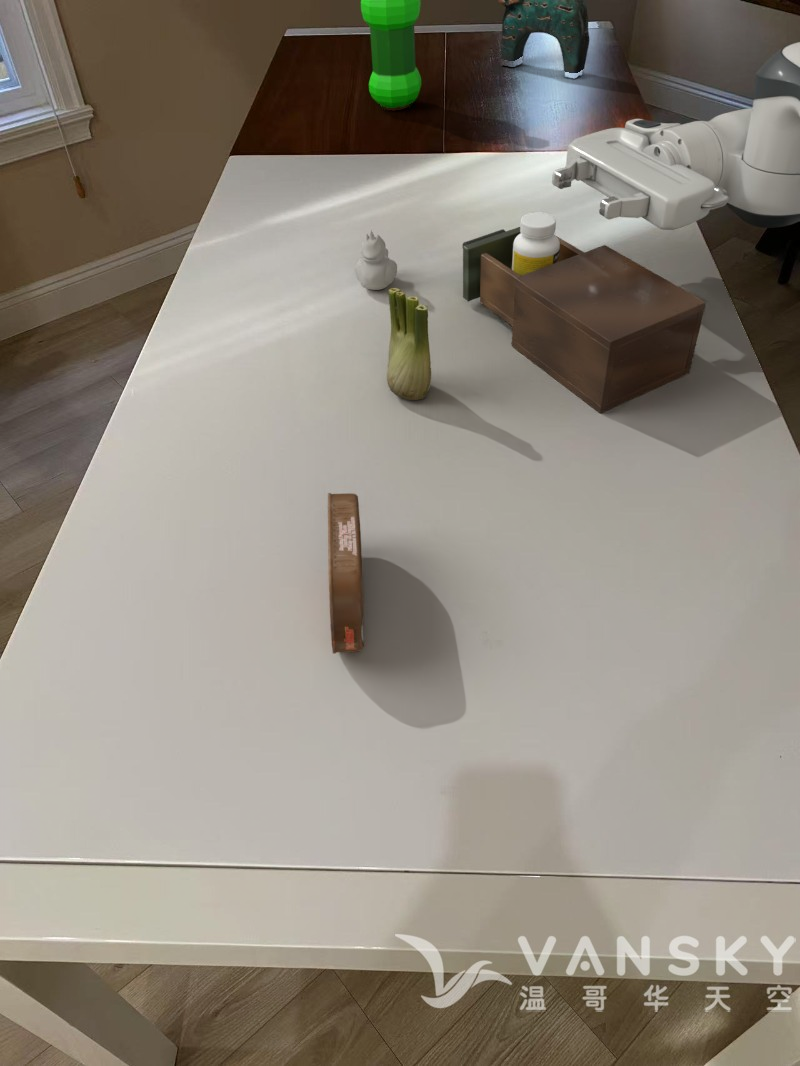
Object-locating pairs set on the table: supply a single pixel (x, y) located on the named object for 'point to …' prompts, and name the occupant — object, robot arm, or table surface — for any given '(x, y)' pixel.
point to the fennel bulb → (408, 347)
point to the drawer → (496, 270)
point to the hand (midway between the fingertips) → (578, 194)
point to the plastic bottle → (393, 51)
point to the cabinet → (605, 326)
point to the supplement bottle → (535, 243)
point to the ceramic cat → (546, 28)
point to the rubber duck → (375, 264)
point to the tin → (345, 573)
